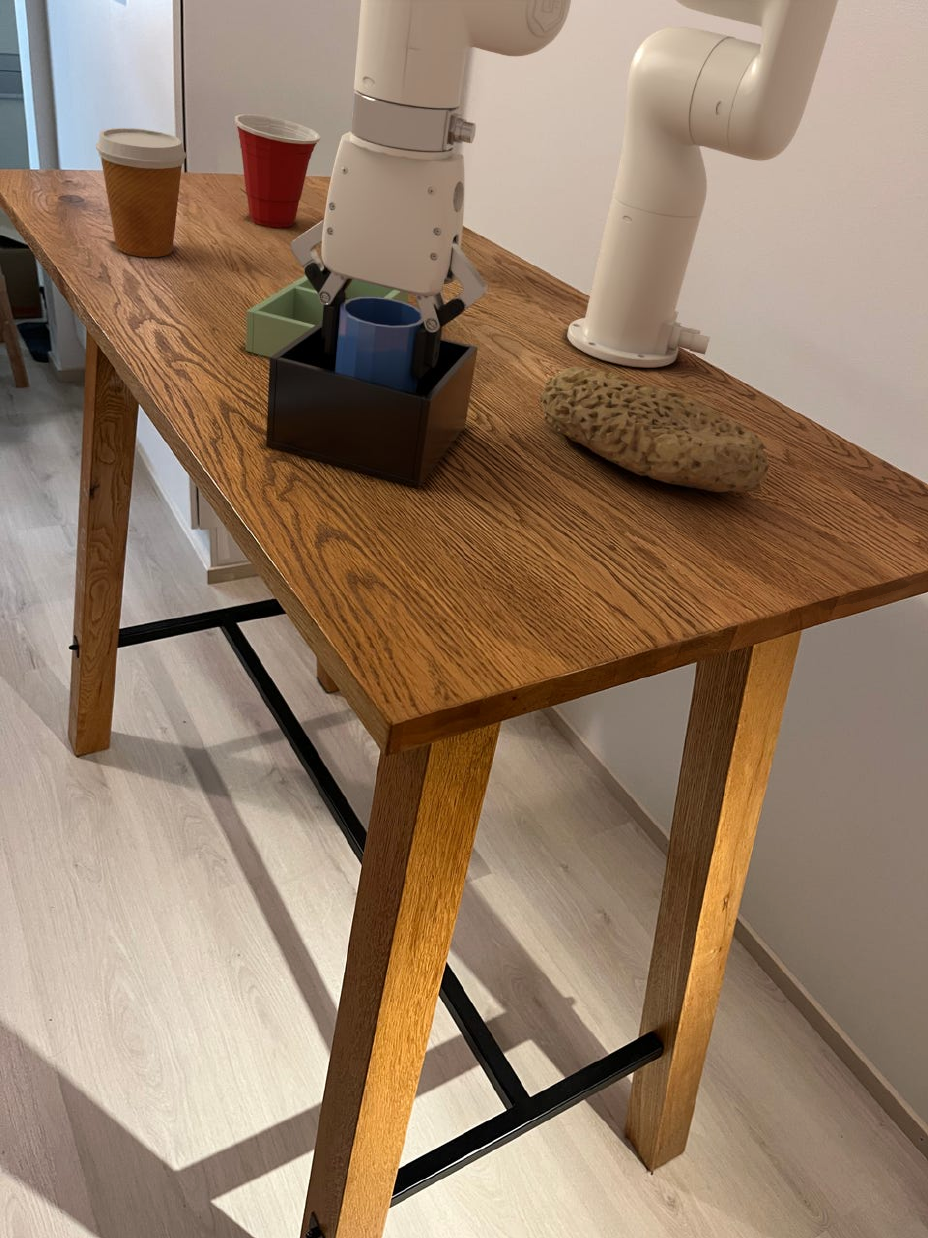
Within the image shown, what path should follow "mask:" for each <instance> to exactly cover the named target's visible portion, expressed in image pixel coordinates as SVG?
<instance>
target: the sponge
mask: <svg viewBox="0 0 928 1238" xmlns="http://www.w3.org/2000/svg"><path fill="white" fill-rule="evenodd" d="M544 384H545V386H544V388H543V389H542V391H541V393H540V404H541V408H542V412H543V414H544V416H543V418H544V419H545V421H546V422H547V423H548V424H550V425H551V427H552V428H553V429H554V430H555V431H557V432H558V433H560V434H562V435H564V436H566V437H568V439H569V440H570V441H572V442H574V443H579V444H581V445H582V446H583V447H586V448H587V449H589V450H590V451H592V453H594V454H597V455H599V456H600V457H602V458H604V459H605V460H607V461H609V462H611V463H613V464H615V465H618V466H619V467H621V468H623V469H625V470H627V471H628V472H631V473H634V474H636V475H639V476H641V477H642V476H643V477H644V476H645V477H646V476H648V477H649V479H652V480H657V481H659V482H663V483H664V484H668V485H669V484H670V485H676V486H682V487H686V488H694V489H699V490H704V491H708V492H713V493H725V492H733V493H750V492H751V493H752V492H757V491H759V490H760V489H761V488H762V486H763V485H764V482H765V481H766V480H767V478H768V472H769V467H770V465H771V463H770V462H769V461H768V460H767V458H768V452H767V451H766V449H767V447H766V446H765V445H764V443H763V441H762V439H761V438H760V437H759V436H758V435H757V434H755V433H754V432H753V433H752V432H751V431H749V430H748V429H747V428H745V427H744V426H743V425H742V424H741V422H740V423H738V422H736V421H735V420H733V419H731V418H729V417H728V416H726V415H724V414H723V413H721V412H718V411H716V410H715V409H713V408H711V407H710V406H708V405H706V404H705V403H703V402H701V401H699V400H696V399H693V398H691V397H689V396H687V395H685V394H683V393H681V392H678V391H677V392H676V391H672V390H668V389H665V388H661V387H658V386H655V385H648V384H634V383H633V382H630V381H627V380H626V378H625V376H622V374H619V373H617V372H610V373H606V371H599V370H596V369H593V368H589V367H587V368H585V367H582V366H580V365H573V366H571V367H568V368H562V370H561V373H557V374H555V376H554V377H553V378H552V377H551V376H549V377H548V378H547V379H546V381H545V382H544Z"/></svg>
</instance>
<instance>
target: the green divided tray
mask: <svg viewBox="0 0 928 1238" xmlns="http://www.w3.org/2000/svg"><path fill="white" fill-rule="evenodd" d="M331 272H332V271H331ZM345 293H346V297H347V298H349V299H351V298H356V297H381V298H389V299H394V300H398V301H402V302H405V303H408V304H409V298H410V293H406V292H402V291H398V290H394V289H390V288H386V287H382V286H378V285H374V284H370V283H366V282H362V281H358V280H354V279H353V280H352V282H351V284H350V285H349V287H348V288H347V290H346V291H345ZM323 306H324V305H323V304H322V303H321V302H320V301H319V299H318V293H317V291H316V290H315V288H314V287H313V285H312V284H311V283H310V281H309V280H308V278H307V277H306V275H305V274H304V276H302V277H300V278H299V279H297V280H294V281H293V282H292V283H290V284H289V285H287V286H285V287H284V288H282V289H280V290H279V291H277V292H275V293H273V294H272V295H271V296H269V297H267V298H265V299H264V300H262V301H260V302H259V303H257V304H255V305H254V306H252V307H251V308H248V309H247V310H246V321H245V322H246V323H245V324H246V327H245V352H249V353H252V354H256V355H259V356H263V357H266V358H270V357H272V356H273V355H274V354H276V353H277V352H279V351H280V350H281V349H283V348H284V347H286V346H287V345H288V344H290V343H291V342H293V341H294V340H295V339H297V338H298V337H300V336H301V335H302V334H304V333H305V332H307V331H308V330H309V329H311V328H312V327H314V326H315V325H316V324H318V323H319V322H321V321H322V319H323Z"/></svg>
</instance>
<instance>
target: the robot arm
mask: <svg viewBox="0 0 928 1238" xmlns="http://www.w3.org/2000/svg"><path fill="white" fill-rule="evenodd" d="M676 2H677V3H679V4H680V5H682V6H683V7H685V8H688V9H690V10H693V11H696V12H700V13H703V14H706V15H711V16H714V17H718V18H723V19H727V20H731V21H736V22H740V23H744V24H750V25H753V26H758V27H760V28H761V41H760V43H756V42H752V41H748V40H743V39H740V38H736V37H734V36H730V35H726V34H721V33H718V32H713V31H708V30H704V29H700V28H695V27H687V26H673V27H672V26H670V27H664V28H661V29H660V30H657V31H654V32H653V33H651V34H650V35H649V36H647V38H645V39H644V40H643V42H641V44H640V45H639V47H638V48H637V50H636V52H635V53H634V56H633V58H632V60H631V63H630V66H629V72H628V76H627V85H626V98H625V99H626V101H625V119H624V131H623V137H622V138H623V140H622V146H621V152H620V159H619V163H618V168H617V173H616V178H615V183H614V186H613V191H612V196H611V201H610V205H609V209H608V213H607V217H606V223H605V227H604V230H603V231H604V232H603V235H602V236H603V237H602V241H601V245H600V250H599V254H598V259H597V263H596V268H595V272H594V276H593V279H592V280H593V281H592V286H591V290H590V294H589V298H588V302H587V307H586V312H585V317H582V318H579V319H575V320H574V321H572V322H570V323H569V326H568V329H567V335H566V336H567V339H568V341H569V342H570V343H571V344H572V345H573V347H575V348H576V349H578V350H579V351H581V352H582V353H584V354H587V355H589V356H591V357H593V358H596V359H598V360H601V361H604V362H608V363H612V364H616V365H620V366H624V367H625V366H626V367H632V368H644V369H645V368H646V369H647V368H649V369H650V368H653V369H654V368H661V367H665V366H668V365H670V364H673V363H674V362H675V361H676V360H677V357H678V353H679V348H681V349H684V350H688V351H690V352H693V353H696V354H700V355H706V352H707V349H708V346H709V342H710V340H711V337H710V336H707V335H705V334H701V332H702V330H701V329H698V328H697V329H696V328H692V327H690V328H689V327H687V326H682V325H681V324H682V323H681V322H677V319H678V316H679V311H678V310H676V308H677V305H678V301H679V297H680V293H681V290H682V286H683V283H684V278H685V275H686V272H687V269H688V264H689V261H690V257H691V254H692V250H693V246H694V243H695V240H696V235H697V232H698V229H699V225H700V222H701V217H702V214H703V210H704V207H705V202H706V198H707V189H708V186H707V185H708V184H707V182H708V180H707V173H706V167H705V163H704V159H703V155H702V152H701V148H700V147H704V148H708V149H711V150H714V151H718V152H721V153H726V154H729V155H732V156H736V157H739V158H743V159H747V160H751V161H760V162H761V161H769V160H772V159H774V158H777V156H779V155H781V154H782V153H783V152H784V151H785V150H786V149H787V147H788V146H790V143H791V142H792V140H793V139H794V136H795V135H796V132H797V131H798V128H799V126H800V124H801V121H802V119H803V116H804V113H805V111H806V107H807V104H808V102H809V97H810V95H811V92H812V88H813V85H814V81H815V78H816V75H817V72H818V68H819V65H820V61H821V58H822V55H823V51H824V49H825V45H826V42H827V39H828V35H829V32H830V29H831V25H832V23H833V20H834V15H835V12H836V8H837V6H838V2H839V0H676ZM571 4H572V0H360V7H359V8H360V10H359V22H358V36H357V45H356V46H357V47H356V58H355V68H354V69H355V70H354V82H353V92H352V93H353V95H352V107H351V118H350V119H351V120H350V130H349V131H348V132H346V133H344V134H343V135H341V138H340V142H339V144H338V149H337V152H336V156H335V160H334V165H333V167H332V173H331V177H330V181H329V186H328V191H327V197H326V203H325V210H324V218H323V220H321V221H320V222H318V223H317V224H315V225H314V226H312V227H311V228H310V229H308V230H307V231H305V232H304V233H302V234H301V235H299V236H297V237H296V238H295V239H293V240H291V242H290V245H289V246H290V250H291V251H292V253H293V256H294V257H295V258H296V260H297V262H298V263H299V265H300V267H302V268H303V270H304V276H305V275H306V277H307V278H308V280H309V281H310V283H311V284H312V285H313V287H314V288H315V290H316V291H317V293H318V299H319V301H320V302H321V303H322V304H323V305H324V306H323V319H322V333H321V337H322V339H324V340H325V354H327V355H331V356H332V355H334V354H336V350H337V338H338V326H339V313H340V304H341V303H342V302H344V301H345V300H347V299H349V298H347V297H346V293H345V291H346V290H347V288H348V287H349V285H350V284H351V282H352V280H353V279H354V280H358V281H362V282H366V283H370V284H374V285H378V286H382V287H386V288H390V289H394V290H398V291H402V292H406V293H409V295H410V294H411V295H414V297H415V300H416V302H417V305H418V306H417V307H418V309H420V313H421V316H422V319H423V325H422V327H421V328H420V329H418V331H417V334H416V342H415V349H414V357H413V365H412V373H411V375H413V377H414V378H418V379H420V378H421V377H422V376H423V375H424V374H425V373H426V372H427V371H428V370H429V369H430V367H431V368H434V366H435V365H436V363H437V360H438V355H439V348H440V341H441V338H442V334H443V327H444V326H446V325H447V324H449V323H450V322H452V321H453V320H455V319H456V318H457V317H459V316H461V314H463V313H464V312H466V310H468V309H469V308H470V307H472V306H473V305H474V304H475V303H476V302H478V301H479V300H481V299H482V298H483V297H484V296H485V295H486V294H487V293H488V292H489V286H488V284H487V282H486V281H485V280H484V278H483V277H482V275H481V274H480V272H479V271H478V269H476V267H475V265H474V264H473V262H472V261H470V258H468V256H467V255H466V254H465V252H464V251H463V250H462V243H463V241H462V240H463V228H464V214H465V213H464V211H465V159H464V155H463V154H462V153H460V152H456V151H454V148H456V147H457V145H458V144H462V143H468V144H472V143H473V142H474V139H475V136H476V130H477V125H476V123H475V122H470V121H467V119H466V118H463V114H462V107H460V102H461V95H462V88H463V81H464V72H465V67H466V57H467V52H468V50H469V49H470V48H476V49H480V50H483V51H486V52H491V53H494V54H497V55H501V56H506V57H524V56H529V55H532V54H535V53H537V52H540V51H541V50H544V49H545V48H546V47H547V46H548V45H550V44H551V43H553V41H554V40H555V39H556V37H557V36H558V35H559V34H560V32H561V31H562V29H563V27H564V25H565V23H566V21H567V19H568V16H569V14H570V13H569V12H570V8H571ZM319 244H321V250H320V251H321V259H320V255H319V253H318V251H317V247H318V246H319ZM331 271H332V272H331ZM456 279H457V281H458V282H459V283H460V285H461V287H462V290H461V292H460V293H458V294H457V295H456V296H455V297H453V298H452V299H451V300H449V301H448V302H446V299H445V296H444V292H443V287H444V285H447V284H450V283H453V282H454V281H455V280H456Z"/></svg>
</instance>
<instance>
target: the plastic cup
mask: <svg viewBox="0 0 928 1238" xmlns="http://www.w3.org/2000/svg"><path fill="white" fill-rule="evenodd" d="M234 124H235V125H236V128H237V132H238V139H239V147H240V148H239V149H240V151H241V160H242V169H243V177H244V186H245V194H246V198H247V205H248V214H249V217H250V221H251V222H253V223H254V224H257V225H260V226H264V227H269V228H289V227H293V225H295V220H296V218H297V213H298V208H299V205H300V204H299V202H300V200H301V198H302V193H303V190H304V185H305V181H306V176H307V171H308V167H309V165H310V160H311V158H312V155H313V152H314V150H315V147H316V145H317V144H318V143H319V142H320V140H321V135H320V133H318V132H317V131H315V130H314V129H312V128H310V127H307V126H305V125H302V124H300V123H296V122H293V121H290V120H288V119H287V120H286V119H282V118H278V117H273V116H268V115H262V114H253V113H252V114H247V113H246V114H242V113H241V114H238V115H234Z"/></svg>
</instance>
